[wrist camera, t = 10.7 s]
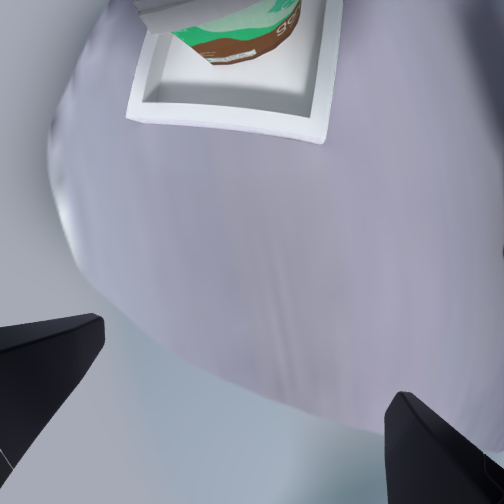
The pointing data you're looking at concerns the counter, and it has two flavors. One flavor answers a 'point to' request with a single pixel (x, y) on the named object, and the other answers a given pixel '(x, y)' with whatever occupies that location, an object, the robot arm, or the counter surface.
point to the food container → (223, 25)
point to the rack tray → (245, 82)
